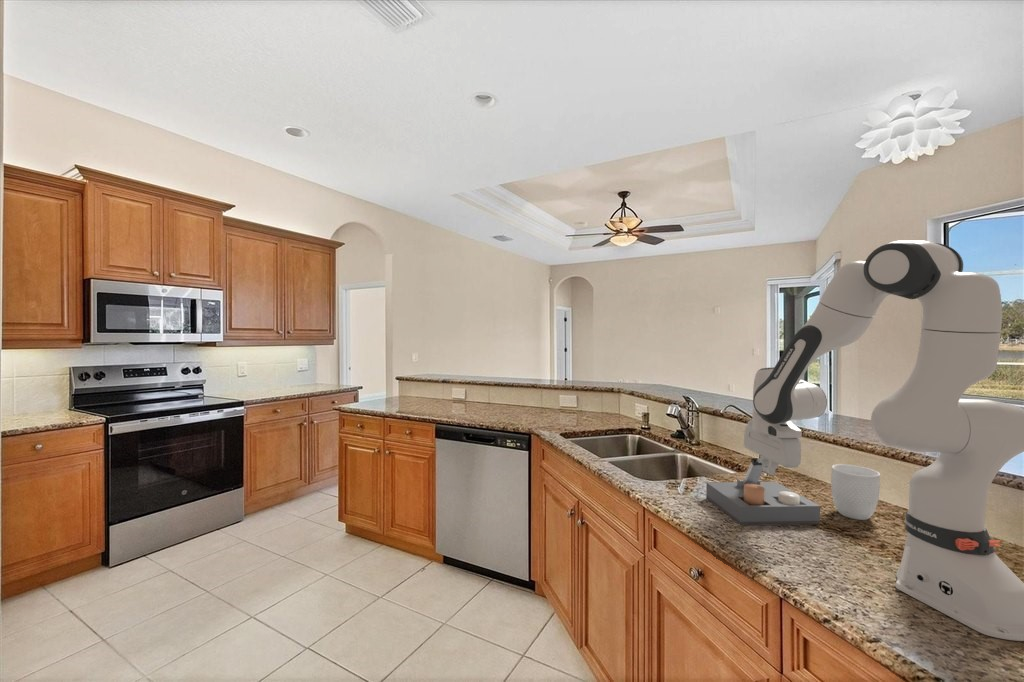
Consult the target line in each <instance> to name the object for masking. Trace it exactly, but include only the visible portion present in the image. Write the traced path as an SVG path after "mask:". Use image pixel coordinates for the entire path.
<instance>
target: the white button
mask: <svg viewBox="0 0 1024 682" xmlns="http://www.w3.org/2000/svg"><path fill="white" fill-rule="evenodd" d="M796 493H797V492H795V493H792V492H787V491H781V492H779V496H778V501H780V502H781V503H783V504H785V505H799V504H800V496H799V495H800V494H799V493H797V494H796ZM798 494H799V495H798Z"/></svg>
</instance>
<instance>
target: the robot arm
mask: <svg viewBox="0 0 1024 682" xmlns="http://www.w3.org/2000/svg"><path fill="white" fill-rule="evenodd" d="M890 295H893V296H897V297H901V298H904V299H909V300H915V299H917V300H918V301H919V302H920V303H921V305H922V306H921V307H922V311H923V312H922V320H921V321H922V322H921V329H920V330H921V331H920V338H919V347H918V352H917V358H916V362H915V365H914V368H913V369H912V372H911V373H910V376H909V377H908V378H907V380H906V381H905V382H904V383H903V385H902V386H901V387H900V388H899V389H898V390H897V391H895V392H894V393H893V394H891V395H890V396H888V397H887V398H884V399H883V400H881V401H879V402H878V403H877V404H876V406H875V407H874V408H873V410H872V413H871V416H870V424H871V428H872V431H873V433H874V434H875V436H876V438H877V439H879V440H880V441H881V442H882V444H884V445H886V446H889V447H893V448H898V449H901V450H907V451H912V452H920V453H921V452H923V453H924V452H925V453H939V455H938V456H937V458H936V459H935V460H934V461H933V462H932V463H931V464H930V465H927V466H926V467H922V468H920V469H918V470H917V471H915V472H914V473H913V474H912V476H911V478H910V479H909V489H908V490H909V491H908V492H909V493H908V495H909V497H908V510H907V511H906V512H905V518H904V524H905V525H904V529H905V530H906V539H905V542H904V543H905V544H904V548H903V552H902V557H901V562H900V564H899V567H898V569H897V572H896V573H895V576H896V582H895V588H896V589H897V590H899V591H901V592H903V593H904V594H907V595H908V596H911V597H912V598H914V599H915V600H918V601H919V602H922V603H924V604H926V605H927V606H929V607H931V608H933V609H935V610H937V611H939V612H940V613H942V614H944V615H946V616H948V617H950V618H951V619H954V621H955V620H956V621H958V622H959V623H961V624H963V625H965V626H966V627H969V628H970V629H973V630H975V631H976V632H978V633H980V634H982V635H985V636H988V637H993V638H997V639H1002V640H1008V641H1017V642H1024V582H1023V581H1022V580H1021V579H1020V578H1019V577H1018V576H1017V575H1016V574H1015V573H1014V572H1013V571H1012V570H1011V568H1009V567H1008V565H1007V564H1005V562H1004V561H1003V560H1001V558H999V556H997V554H996V553H995V551H996V550H995V547H1001V544H999V543H1001V542H1002V540H999V539H991V537H990V534H989V532H988V529H987V528H986V527H985V525H986V524H985V522H986V510H987V509H986V508H987V500H988V495H989V494H988V493H989V490H990V487H991V485H992V482H993V481H994V479H995V477H997V475H998V473H999V472H1000V470H1001V469H1003V467H1004V466H1005V465H1006V464H1007V463H1008V462H1009V461H1010V460H1011V459H1013V458H1014V457H1016V456H1018V455H1020V454H1022V453H1023V452H1024V408H1022V407H1021V406H1018V405H1016V404H1012V403H1011V404H1010V403H1007V402H1006V403H1005V402H1002V401H997V400H990V399H986V398H985V399H983V398H982V399H980V398H978V399H977V398H961V397H962V396H963V394H964V393H965V392H966V391H967V390H968V389H969V388H970V387H971V386H973V385H974V384H977V383H980V382H981V381H983V380H986V379H988V378H989V377H991V376H992V375H993V374H994V373H995V371H996V369H997V366H998V365H997V364H998V356H999V350H1000V349H999V348H1000V343H1001V342H1000V341H1001V334H1002V333H1001V332H1002V324H1003V323H1002V322H1003V303H1002V295H1001V289H1000V285H999V283H998V282H997V281H996V280H995V279H994V278H992V277H990V276H988V275H986V274H984V273H983V274H982V273H978V272H966V271H964V260H963V258H962V256H961V255H960V253H959V252H958V251H957V250H956V249H954V248H952V247H951V246H949V245H946V244H943V243H937V242H936V243H935V242H931V241H928V240H920V239H919V240H915V239H914V240H905V239H904V240H902V239H901V240H900V239H899V240H895V241H894V240H893V241H891V242H888V243H884V244H881V246H879V247H877V248H875V249H874V250H872V251H871V253H870V254H869V255H868V256H867V258H866V259H865V261H863V260H855V261H851V262H847V263H844V264H843V265H842V266H840V268H839V269H838V270H837V271H836V273H835V274H834V276H833V277H832V278H831V280H830V281H829V283H828V285H827V287H826V288H825V290H824V292H823V294H822V295H821V297H820V299H819V302H818V303H817V306H816V307H815V309H814V311H813V313H812V314H811V315H810V317H809V318H808V320H807V321H806V322H805V324H804V325H803V326H802V327H800V329H799V330H798V331H797V332H796V333H795V334H794V336H792V339H790V341H789V343H788V344H787V345H786V348H785V349H784V351H783V352H782V354H781V355H780V358H779V359H778V361H777V362H776V364H775V365H774V367H772V366H771V367H763V368H760V369H758V370H757V371H756V373H755V375H754V380H753V387H752V388H753V391H752V399H753V400H752V404H753V410H752V418H750V419H749V420H748V421H747V425H746V426H745V429H744V434H743V435H744V436H743V445H744V448H745V449H746V450H748V451H751V452H752V453H755V454H757V455H759V457H760V459H761V462H762V465H763V471H762V473H763V472H764V473H765V474H767V475H769V476H775V475H776V470H777V468H778V466H779V465H780V466H782V467H784V468H788V469H789V468H791V469H793V468H795V469H796V468H798V467H799V466H800V465H801V460H802V444H801V440H800V439H801V438H802V436H803V431H802V430H801V429H800V428H799V427H798V426H797V425H795V424H794V422H795V421H802V420H810V419H815V418H819V417H821V416H822V415H823V414H824V413H825V411H826V409H827V406H828V399H827V396H826V393H825V391H824V390H823V388H821V387H820V386H819V385H818V384H816V383H811V382H808V381H806V380H804V379H802V378H803V377H804V375H805V374H806V372H807V371H808V369H809V368H810V365H811V364H813V362H814V361H815V360H816V359H818V358H819V357H821V356H823V355H825V354H827V353H829V352H831V351H834V350H837V349H840V348H843V347H846V346H849V345H852V344H853V343H856V342H857V341H858V340H859V339H860V338H861V337H862V336H863V335H864V333H866V331H867V330H868V328H869V327H870V325H871V323H872V321H873V319H874V318H875V315H876V313H877V311H878V309H879V308H880V306H881V304H882V302H883V301H884V300H885V299H886V298H887V297H888V296H890Z"/></svg>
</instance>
